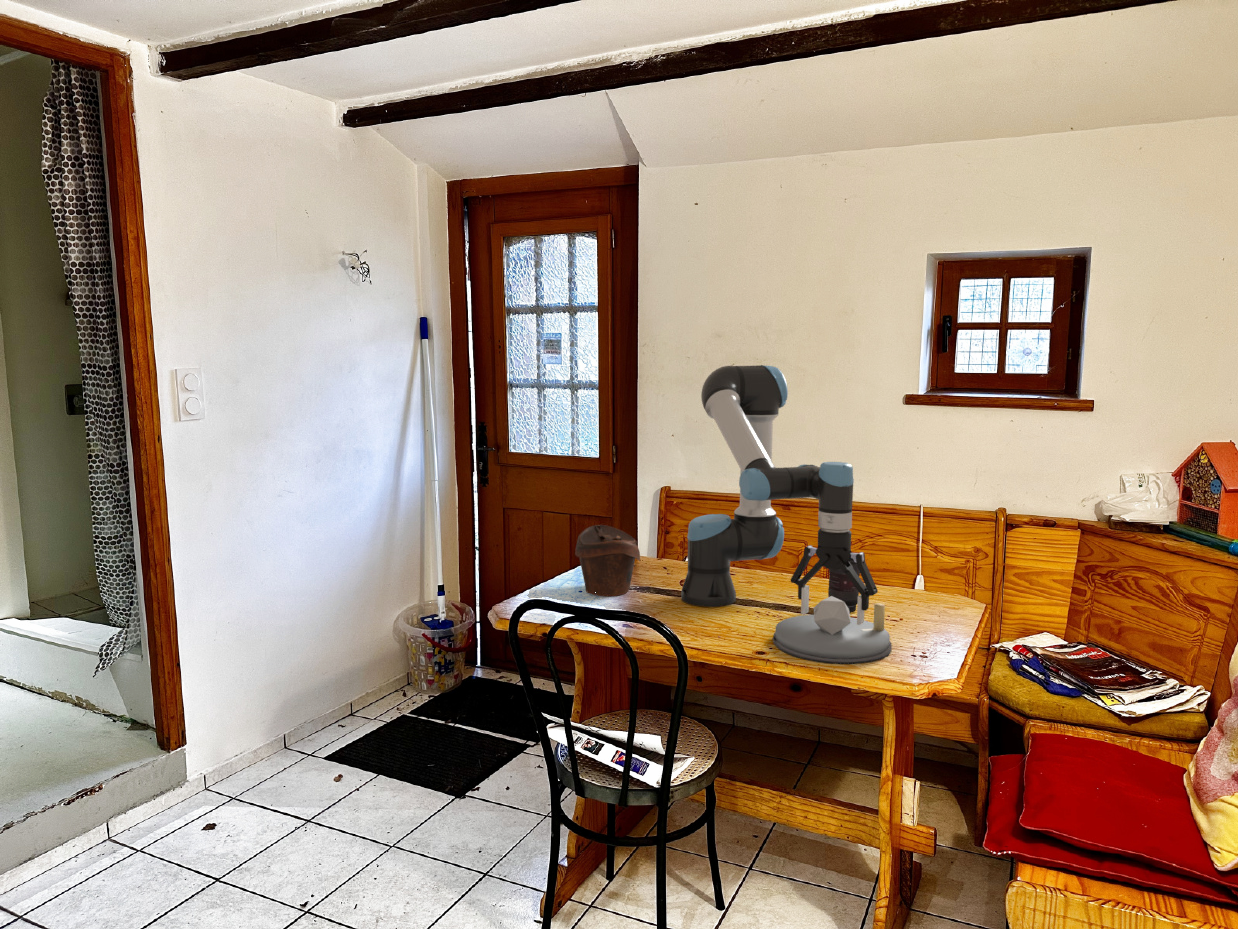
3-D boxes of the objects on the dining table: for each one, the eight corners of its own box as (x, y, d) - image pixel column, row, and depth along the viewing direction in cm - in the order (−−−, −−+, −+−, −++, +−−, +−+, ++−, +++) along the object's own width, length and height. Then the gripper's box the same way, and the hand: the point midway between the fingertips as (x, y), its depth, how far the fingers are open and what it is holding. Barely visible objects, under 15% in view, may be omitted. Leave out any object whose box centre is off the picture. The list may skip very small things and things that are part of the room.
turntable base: (753, 648, 197) (753, 644, 197) (800, 619, 219) (800, 615, 219) (868, 673, 182) (868, 668, 182) (906, 639, 204) (906, 635, 204)
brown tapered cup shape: (621, 604, 234) (621, 539, 231) (562, 593, 244) (561, 532, 242) (653, 589, 249) (653, 528, 246) (596, 579, 259) (595, 521, 257)
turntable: (795, 661, 186) (796, 625, 185) (762, 624, 212) (762, 593, 211) (909, 656, 189) (910, 621, 188) (862, 620, 215) (863, 589, 214)
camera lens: (860, 614, 224) (861, 558, 222) (828, 612, 226) (829, 556, 224) (857, 605, 232) (859, 551, 230) (827, 603, 233) (828, 550, 232)
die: (824, 625, 207) (804, 597, 204) (857, 612, 203) (837, 582, 200) (826, 647, 199) (805, 618, 196) (860, 634, 196) (839, 604, 193)
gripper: (778, 525, 201) (776, 613, 204) (883, 538, 187) (879, 632, 190) (791, 520, 207) (789, 605, 210) (893, 532, 193) (890, 623, 196)
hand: (832, 618), depth 200 cm, fingers open, 13 cm apart
